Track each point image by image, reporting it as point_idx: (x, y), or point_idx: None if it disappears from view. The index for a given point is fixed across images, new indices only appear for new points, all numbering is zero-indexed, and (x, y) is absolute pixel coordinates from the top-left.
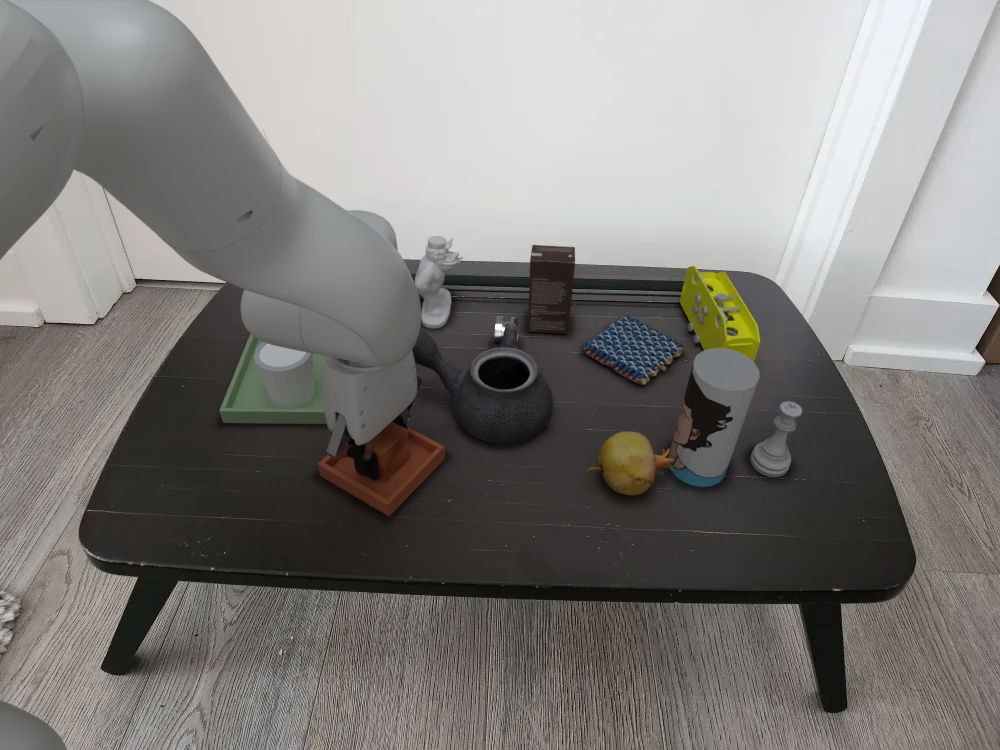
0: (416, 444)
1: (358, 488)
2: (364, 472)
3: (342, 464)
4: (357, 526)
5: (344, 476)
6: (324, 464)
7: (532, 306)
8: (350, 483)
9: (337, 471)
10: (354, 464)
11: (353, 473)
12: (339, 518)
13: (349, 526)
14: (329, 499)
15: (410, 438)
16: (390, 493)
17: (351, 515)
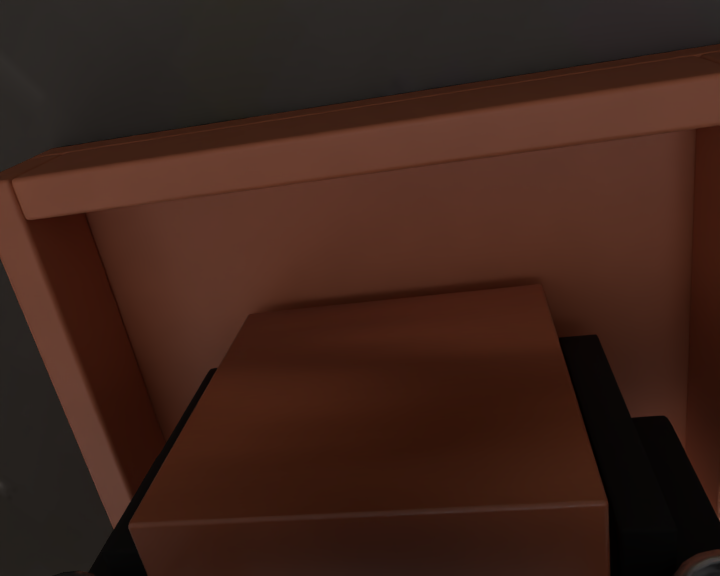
0: (685, 451)
1: (114, 527)
2: None
3: (197, 223)
4: (66, 536)
5: (85, 415)
6: (12, 235)
7: None
8: (93, 471)
9: (65, 353)
10: (138, 489)
11: (213, 331)
12: (14, 452)
13: (34, 512)
14: (22, 332)
15: (697, 427)
16: None
17: (72, 479)
